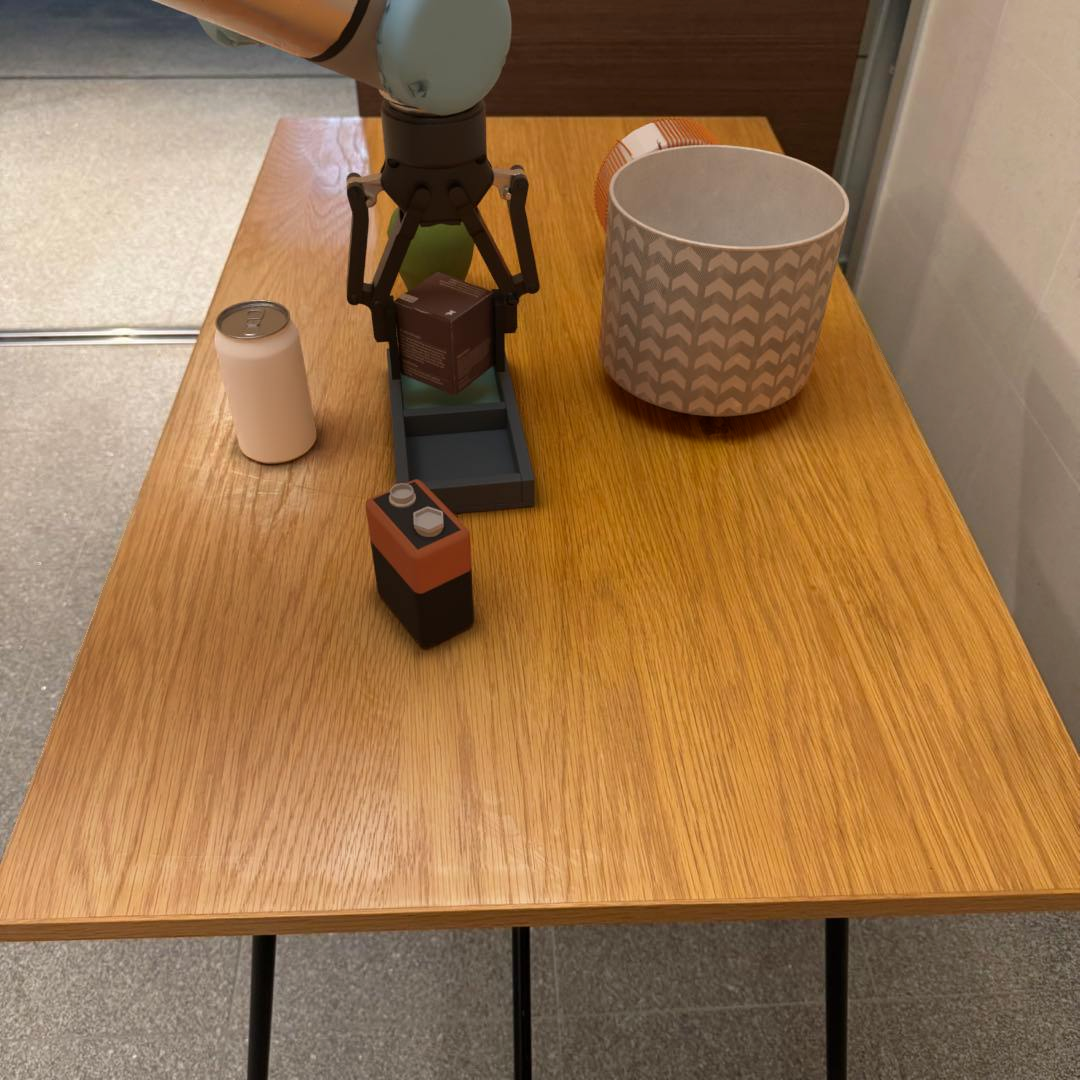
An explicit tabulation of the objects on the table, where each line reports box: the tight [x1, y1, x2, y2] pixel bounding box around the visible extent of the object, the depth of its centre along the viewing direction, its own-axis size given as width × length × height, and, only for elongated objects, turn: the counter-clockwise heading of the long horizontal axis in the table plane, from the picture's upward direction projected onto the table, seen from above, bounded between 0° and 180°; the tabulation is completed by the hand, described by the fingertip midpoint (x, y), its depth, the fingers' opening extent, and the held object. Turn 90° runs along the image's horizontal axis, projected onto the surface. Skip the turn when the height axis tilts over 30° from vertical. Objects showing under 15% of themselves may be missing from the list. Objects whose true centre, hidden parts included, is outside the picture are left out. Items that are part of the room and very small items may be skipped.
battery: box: [364, 479, 475, 649], centre depth 67 cm, size 4×7×10 cm, turn 36°
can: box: [213, 299, 317, 465], centre depth 81 cm, size 6×6×12 cm
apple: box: [386, 206, 475, 292], centre depth 98 cm, size 9×8×12 cm
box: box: [394, 272, 495, 396], centre depth 84 cm, size 6×6×7 cm
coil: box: [593, 116, 723, 234], centre depth 103 cm, size 7×15×15 cm, turn 100°
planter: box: [598, 144, 850, 417], centre depth 86 cm, size 19×19×18 cm
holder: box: [386, 347, 536, 515], centre depth 85 cm, size 11×20×3 cm, turn 9°
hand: (447, 367), depth 86 cm, fingers closed on box, 8 cm apart
